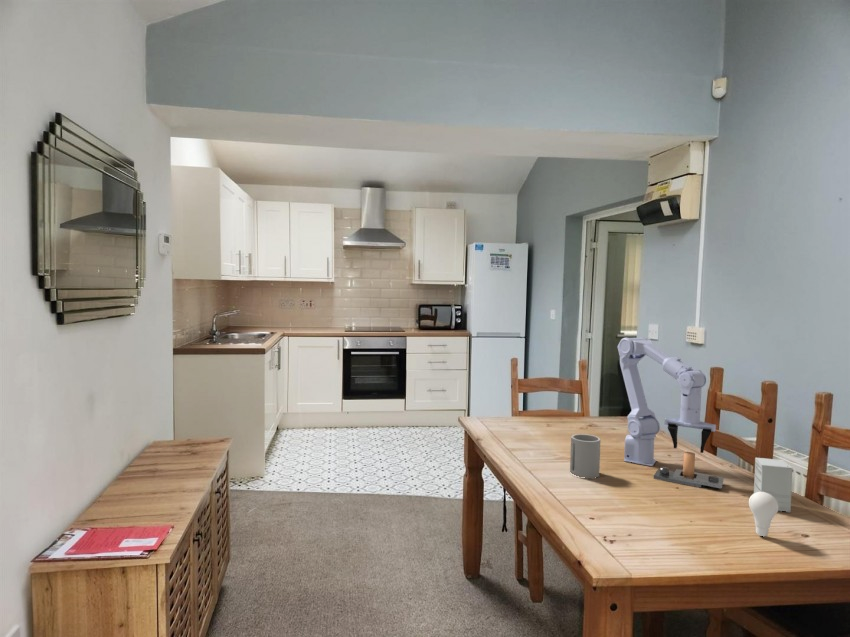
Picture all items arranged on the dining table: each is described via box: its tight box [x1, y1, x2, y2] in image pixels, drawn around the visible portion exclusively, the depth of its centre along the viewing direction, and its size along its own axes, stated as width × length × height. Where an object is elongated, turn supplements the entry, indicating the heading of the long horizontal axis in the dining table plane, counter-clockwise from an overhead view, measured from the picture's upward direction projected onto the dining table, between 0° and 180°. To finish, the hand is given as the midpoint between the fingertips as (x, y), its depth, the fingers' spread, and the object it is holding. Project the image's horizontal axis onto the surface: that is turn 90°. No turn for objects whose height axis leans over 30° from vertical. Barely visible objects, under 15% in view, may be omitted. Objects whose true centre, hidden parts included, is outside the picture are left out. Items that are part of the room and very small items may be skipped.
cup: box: [569, 433, 601, 479], centre depth 171 cm, size 9×9×12 cm
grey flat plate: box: [653, 466, 724, 489], centre depth 166 cm, size 19×8×3 cm, turn 57°
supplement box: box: [753, 457, 793, 513], centre depth 147 cm, size 7×7×13 cm
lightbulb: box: [748, 492, 779, 538], centre depth 128 cm, size 6×6×11 cm
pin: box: [682, 451, 696, 478], centre depth 166 cm, size 3×3×9 cm
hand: (688, 449), depth 168 cm, fingers open, 7 cm apart
